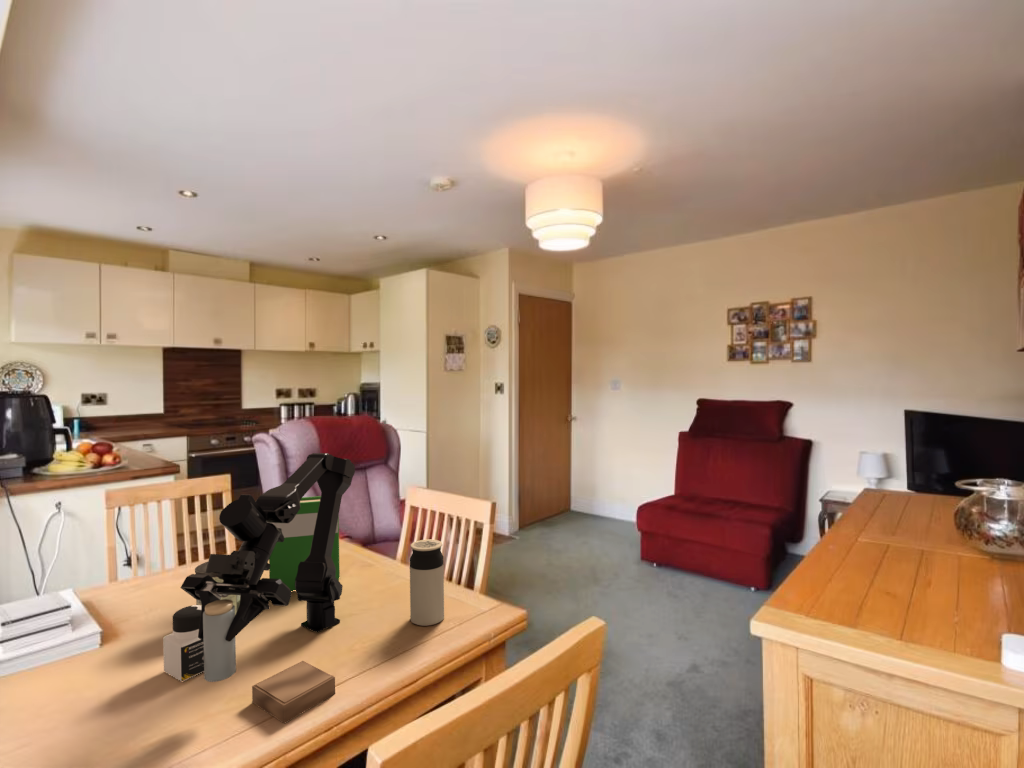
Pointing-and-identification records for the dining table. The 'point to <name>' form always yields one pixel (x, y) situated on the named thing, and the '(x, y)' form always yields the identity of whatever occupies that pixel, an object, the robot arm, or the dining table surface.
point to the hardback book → (298, 543)
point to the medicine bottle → (184, 645)
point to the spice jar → (218, 641)
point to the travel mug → (426, 582)
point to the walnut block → (293, 691)
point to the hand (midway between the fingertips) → (213, 639)
